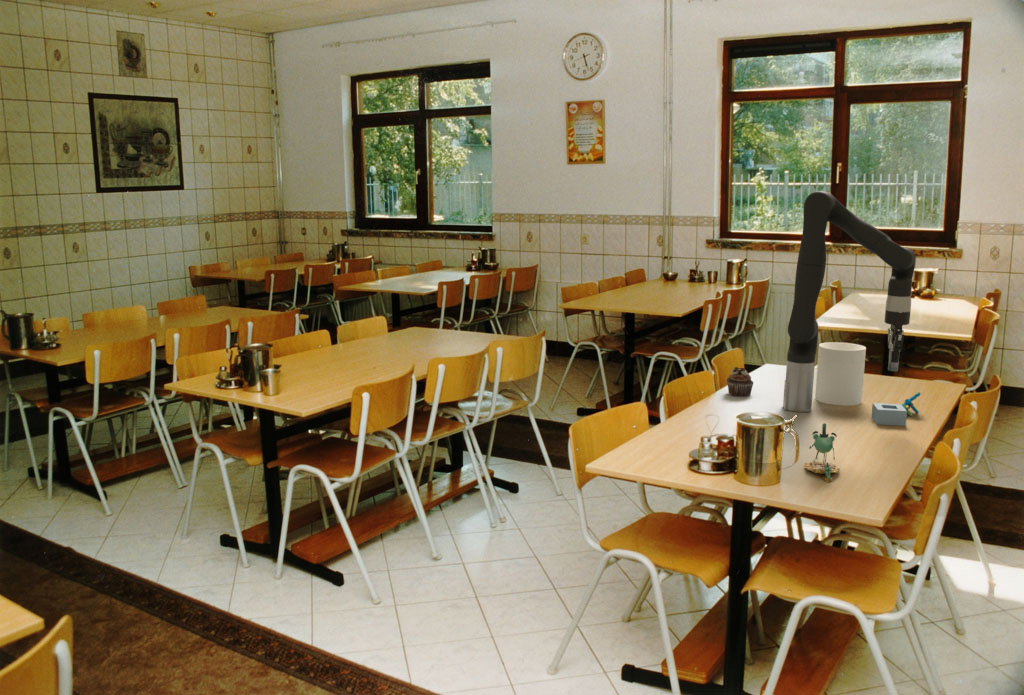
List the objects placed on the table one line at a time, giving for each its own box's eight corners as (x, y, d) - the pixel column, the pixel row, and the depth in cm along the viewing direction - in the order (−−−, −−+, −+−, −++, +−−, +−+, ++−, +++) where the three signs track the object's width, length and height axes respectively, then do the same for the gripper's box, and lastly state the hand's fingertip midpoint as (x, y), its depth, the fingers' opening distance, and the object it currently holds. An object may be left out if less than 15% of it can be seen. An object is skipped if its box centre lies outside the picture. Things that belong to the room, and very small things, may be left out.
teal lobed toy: (900, 402, 314) (922, 387, 307) (911, 416, 312) (934, 400, 306) (888, 412, 306) (910, 397, 300) (900, 426, 305) (923, 411, 298)
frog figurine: (799, 479, 238) (803, 425, 237) (805, 467, 255) (808, 416, 254) (837, 484, 235) (841, 429, 233) (840, 471, 251) (844, 419, 250)
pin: (889, 371, 291) (891, 341, 289) (887, 369, 294) (889, 339, 292) (898, 371, 291) (901, 341, 289) (896, 369, 294) (899, 339, 292)
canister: (854, 395, 331) (858, 342, 327) (867, 406, 316) (871, 351, 312) (810, 394, 333) (814, 341, 329) (820, 404, 317) (824, 349, 313)
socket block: (876, 424, 292) (877, 409, 291) (871, 417, 301) (872, 402, 300) (905, 425, 291) (907, 411, 290) (899, 418, 299) (901, 404, 298)
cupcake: (754, 397, 327) (755, 371, 325) (727, 396, 328) (728, 370, 326) (751, 391, 336) (752, 365, 334) (725, 390, 337) (726, 364, 336)
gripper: (881, 305, 296) (877, 356, 299) (890, 312, 283) (885, 365, 286) (905, 306, 295) (901, 357, 298) (915, 312, 281) (910, 366, 284)
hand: (893, 361), depth 292 cm, fingers closed on pin, 3 cm apart
